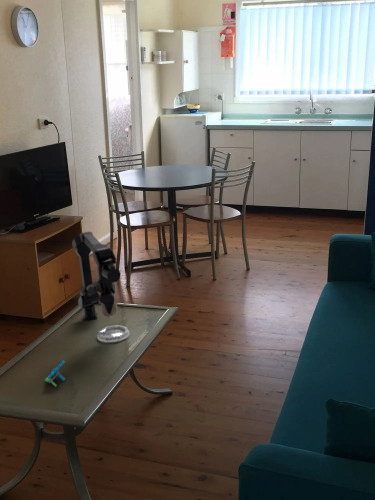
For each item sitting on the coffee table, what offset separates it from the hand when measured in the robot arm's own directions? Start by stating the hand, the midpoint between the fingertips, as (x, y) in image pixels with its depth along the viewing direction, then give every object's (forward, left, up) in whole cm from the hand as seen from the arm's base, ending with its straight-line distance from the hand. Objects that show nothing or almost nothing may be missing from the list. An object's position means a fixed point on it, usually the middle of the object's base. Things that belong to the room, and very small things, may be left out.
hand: (109, 310), depth 247 cm
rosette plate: (0, 0, -12) cm, 12 cm away
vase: (0, 0, -2) cm, 2 cm away
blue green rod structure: (+34, -21, -12) cm, 42 cm away
